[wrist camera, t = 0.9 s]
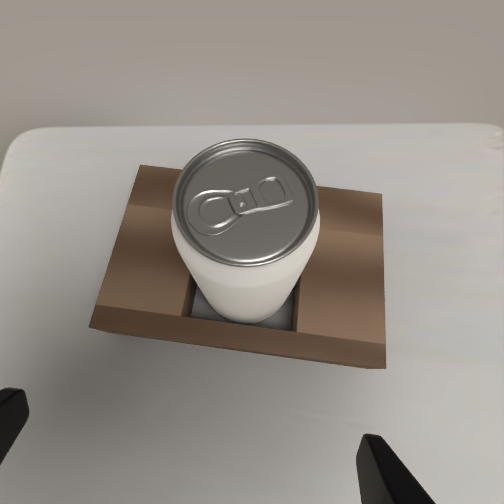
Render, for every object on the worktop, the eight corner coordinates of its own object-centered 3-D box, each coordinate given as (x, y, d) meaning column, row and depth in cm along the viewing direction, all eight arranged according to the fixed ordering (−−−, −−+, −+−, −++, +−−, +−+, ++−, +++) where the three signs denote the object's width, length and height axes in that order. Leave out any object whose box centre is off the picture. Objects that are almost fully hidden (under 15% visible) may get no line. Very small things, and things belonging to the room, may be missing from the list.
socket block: (367, 368, 21) (386, 368, 18) (109, 332, 21) (88, 327, 19) (366, 213, 25) (381, 193, 22) (151, 186, 26) (140, 164, 23)
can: (191, 258, 23) (141, 156, 12) (269, 230, 24) (287, 112, 13) (220, 339, 21) (190, 306, 10) (304, 304, 22) (361, 240, 11)
